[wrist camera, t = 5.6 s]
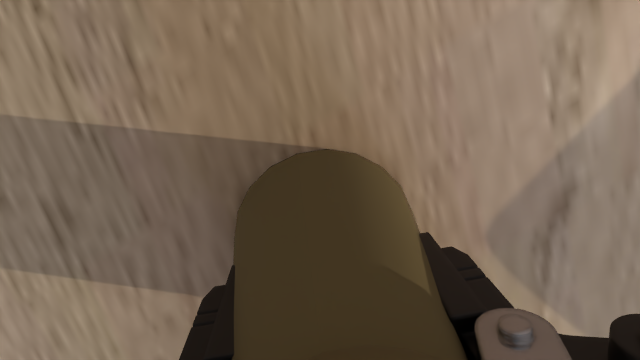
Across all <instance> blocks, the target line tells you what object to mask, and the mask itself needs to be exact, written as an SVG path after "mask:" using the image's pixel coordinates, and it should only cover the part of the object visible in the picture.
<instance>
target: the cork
mask: <svg viewBox="0 0 640 360" xmlns="http://www.w3.org/2000/svg"><path fill="white" fill-rule="evenodd" d="M419 234H420V231H419V229H418V226H417V224H416V221H415V218H414V216H413V213H412V210H411V208H410V206H409V204H408V202H407V199H406V197H405V195H404V193H403V191H402V188H401V186H400V185H399V184H398V183H397V182H396V181H395V180H394V179H393V178H392V177H391V176H390V175H389V174H388V173H387V172H386V171H385V170H384V169H383V168H382V167H381V166H379V165H377V164H375V163H373V162H371V161H369V160H367V159H365V158H364V157H362V156H360V155H358V154H354V153H348V152H342V151H335V150H329V149H325V150H318V151H312V152H305V153H299V154H296V155H294V156H292V157H290V158H288V159H286V160H284V161H282V162H280V163H278V164H276V165H274V166H271V167H270V168H269V169H268V170H267V171H266V172H265V173H264V174H263V175H262V176H261V177H260V178H259V179H258V180H257V181H256V182H255V183H254V184H253V185H252V186H251V187H250V188H249V190H248V192H247V194H246V196H245V198H244V200H243V202H242V204H241V206H240V208H239V210H238V213H237V222H236V230H235V238H234V262H233V265H235V290H234V355H233V357H232V360H468V358H467V356H466V353H465V351H464V348H463V346H462V344H461V341H460V339H459V337H458V335H457V333H456V331H455V328H454V326H453V324H452V323H451V321H450V319H449V317H448V315H447V313H446V311H445V308H444V306H443V304H442V302H441V299H440V295H439V292H438V289H437V286H436V283H435V280H434V277H433V274H432V271H431V267H430V264H429V261H428V258H427V255H426V252H425V250H424V247H423V244H422V242H421V239H420V236H419Z"/></svg>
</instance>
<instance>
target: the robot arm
mask: <svg viewBox="0 0 640 360" xmlns="http://www.w3.org/2000/svg"><path fill="white" fill-rule="evenodd" d="M419 236H420V239H421V242H422V244H423V247H424V250H425V252H426V255H427V258H428V261H429V264H430V267H431V271H432V274H433V277H434V280H435V283H436V286H437V289H438V292H439V295H440V299H441V302H442V304H443V306H444V308H445V311H446V313H447V315H448V317H449V319H450V321H451V323H452V324H453V326H454V328H455V331H456V333H457V335H458V337H459V339H460V341H461V344H462V346H463V348H464V351H465V353H466V356H467V358H468V360H640V314H629V315H624V316H621V317H619V318H617V319H615V320H614V321H613V322H612V324H611V326H610V333H609V338H599V337H583V336H570V335H563V334H558V333H557V331H556V329H555V328H554V327H553V326H552V325H551V324H550V323H549V322H548V321H547V320H545V319H544V318H542V317H540V316H538V315H536V314H534V313H531V312H528V311H525V310H521V309H515V308H514V307H513V306H512V305H511V304H510V303H509V301H508V300H507V299H506V298H505V297H504V296H503V295H502V293H501V292H500V291H499V290H498V289H497V288H496V287H495V285H494V284H493V283H492V282H491V281H490V280H489V279H488V277H486V276H485V274H484V273H483V272H482V271H481V269H480V268H478V267H477V265H476V264H475V263H474V261H473V260H472V259H471V258H470V257H469V256H468V255H467V254H465V253H463V252H461V251H459V250H458V249H456V248H454V247H446V248H440V247H439V245H438V244H437V243H436V241H435V240H434V239H433V237H432V236H431V235H430V234H429V233H428V232H426V233H420V234H419ZM234 290H235V265H232V267H231V270H230V273H229V276H228V280H227V283H226V285H221V286H215V287H214V288H213V289H212V290H211V291H210V292H209V293H208V294H207V295H206V296H205V297H204V298H203V299H202V302H201V304H200V307H199V310H198V312H197V316H196V317H195V320H194V322H193V327H192V328H191V330H190V333H189V335H188V338H187V340H186V343H185V346H184V348H183V351H182V353H181V356H180V359H179V360H232V357H233V355H234Z"/></svg>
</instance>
